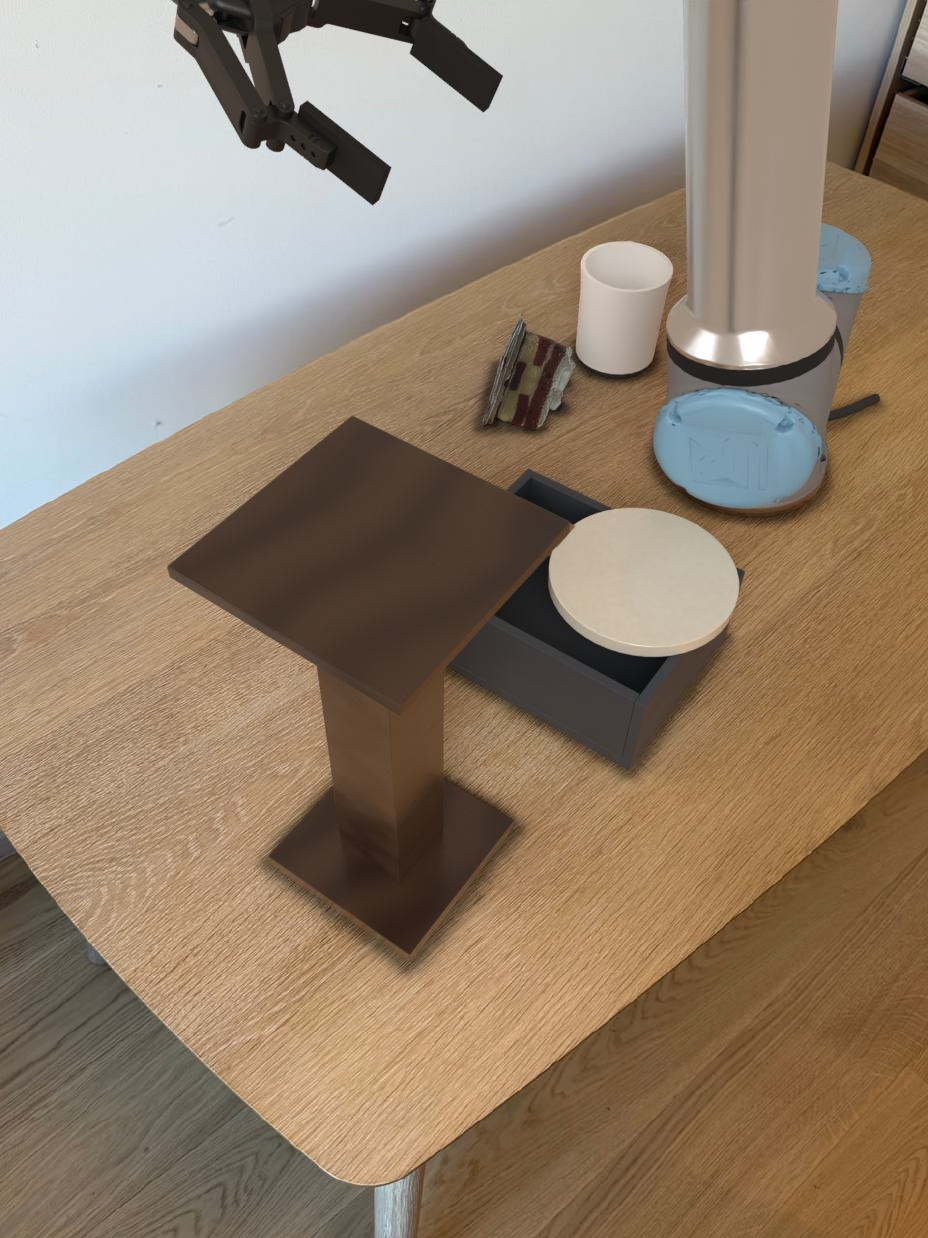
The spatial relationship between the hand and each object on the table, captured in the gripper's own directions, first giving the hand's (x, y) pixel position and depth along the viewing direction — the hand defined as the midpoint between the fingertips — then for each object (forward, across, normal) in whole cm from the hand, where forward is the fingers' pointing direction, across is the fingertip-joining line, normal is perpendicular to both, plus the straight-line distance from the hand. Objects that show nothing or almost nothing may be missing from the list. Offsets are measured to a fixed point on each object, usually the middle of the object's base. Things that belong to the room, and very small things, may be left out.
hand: (441, 138), depth 71 cm
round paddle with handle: (+25, +6, -17) cm, 31 cm away
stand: (+26, +31, -24) cm, 47 cm away
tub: (+29, +8, -24) cm, 39 cm away
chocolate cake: (+13, -17, -33) cm, 39 cm away
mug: (+16, -30, -32) cm, 46 cm away
